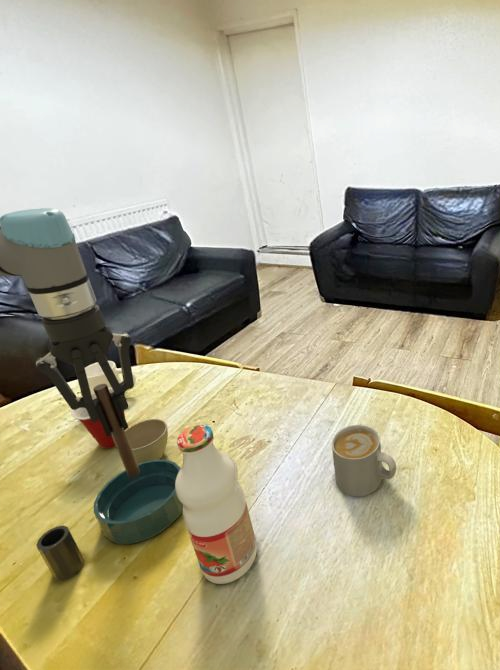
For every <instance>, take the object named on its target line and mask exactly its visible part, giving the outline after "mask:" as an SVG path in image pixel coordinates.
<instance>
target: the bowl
mask: <svg viewBox="0 0 500 670" xmlns="http://www.w3.org/2000/svg"><path fill="white" fill-rule="evenodd" d="M137 465H138V467H139V470H140V473H139V474H138V475H137V476H136V477H133V478H130V477H128V475H127V472H126V470H125V469H124V470H123V471H121V472H119V473H117V474H116V475H115V476H114V477H112V478H111V479H109V480H108V481H107V482H106V484H105V485H103V487H102V488H101V489H100V490H99V492H98V493H97V495H96V497H95V500H94V502H93V515H94V516H95V518H96V520H97V522H98V525H99V527H100V529H101V532H102V534H103V535H104V537H105V538H106V539H107V540H108V541H110V542H112V543H114V544H117V545H118V544H119V545H131V544H136V543H140V542H144V541H146V540H149V539H150V538H152V537H155V536H157V535H158V534H160V533H161V532H163V531H164V530H165V529H167V528H168V527H170V526H171V525H172V524H173V523H174V522H175V521H177V519H178V518H179V517H180V516H181V514H183V504H182V503H181V502H180V500H179V499H178V497H177V494H176V490H175V481H176V477H177V475H178V472H179V471H180V469H181V466H179V465H178V463H176V462H175V461H172V460H169V459H164V458H163V459H161V458H160V459H155V460H150V461H145V462H142V463H137Z"/></svg>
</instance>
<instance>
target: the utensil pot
mask: <svg viewBox="0 0 500 670" xmlns="http://www.w3.org/2000/svg"><path fill="white" fill-rule="evenodd" d="M35 546H36V548H37V550H38V552H39V554H40V556H41V558H42V559H43V561H44V563H45V565H46V566H47V568H48V570H49V572H50V573H51V575H52V576H53V578H54V580H56V581H58V582H62V581H66V580H69V579H71V578H73V577H74V576H76V575H77V574H78V573H79V572H80V571H81V570H82V568H83V567H84V565H85V558H84V555H83V553H82V551H81V550H80V548H79V546H78V544H77V542H76V540H75V538H74V536H73V534H72V532H71V531H70V528H69V526H66V525H56V526H55V527H52V528H50V529H48V530H47V531H46V532H44V533H43V534H42V535H41V536H40V537H39V538H38V539H37V542H36V545H35Z"/></svg>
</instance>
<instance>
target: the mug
mask: <svg viewBox="0 0 500 670" xmlns="http://www.w3.org/2000/svg"><path fill="white" fill-rule="evenodd" d="M107 361H108V363H109V365H110V367H111V369H112V370H113V372H114V374H115V376H116V378H117V380H118V382H119V384H120V383H121V382H122V379H121V376H120V375H122V370H121V367H119V368H117V365H116V363H115V362H114V361H112V360H107ZM85 372H86V376H87V380H88V384H89V387H90V391H91V394H92V393H95V392H94V390H93V389H94V387H95V386H97V385H99V384H107V386H108V389H109V388H112V387H111V385H110V383H109V382H108V380H107V378H106V376H105V374H104V372H103V371H102V369H101V367H100V365H99V363H98V362H97V361H96V362H95V363H94V362H93V363H91V364H89V365H87V366H85ZM132 375H133V382H134V386H135V385H136V375H135V374H134V373H133V372H132ZM130 390H131V389H128V390H127V391H126V392H128V391H130Z"/></svg>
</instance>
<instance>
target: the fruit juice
mask: <svg viewBox="0 0 500 670" xmlns="http://www.w3.org/2000/svg"><path fill="white" fill-rule="evenodd" d="M214 438H215V437H214V432H213V429H212V428H211V427H210V426H208V425H206V424H196V425H192V426H190V427H188V428H186V429H184V430H183V431H181V433H179V434H178V436H177V439H176V445H177V449H178V450H179V452H180V453H181V454H182V457H183V458H182V465H181V466H180V468H181V469H180V471H179V472H178V475H177V477H176V481H175V490H176V494H177V497H178V499H179V500H180V502H181V503H182V504H183V511H182V516H183V521H184V524H185V527H186V530H187V533H188V535H189V538H190V541H191V544H192V547H193V550H194V553H195V556H196V559H197V562H198V566H199V567H200V570H201V573H202V574H203V576H204V578H205V579H206V580H207V581H209V582H211V583H213V584H217V585H225V584H229V583H233V582H234V581H236V580H238V579H240V578H242V577H243V576H244V575H245V574H246V573H247V572H248V571H249V570H250V569H251V567H252V566H253V564H254V562H255V559H256V557H257V551H258V546H257V545H258V544H257V541H256V536H255V535H256V534H255V532H254V528H253V522H252V519H251V515H250V511H249V507H248V504H247V499H246V495H245V492H244V489H243V487H242V484H241V483H240V481H238V479H239V471H238V467H237V464H236V462H235V461H234V459H233V458H232V456H230V455H229V454H227V453H226V452H223V451H220V450H218V447H216V445H215V444H214Z"/></svg>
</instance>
